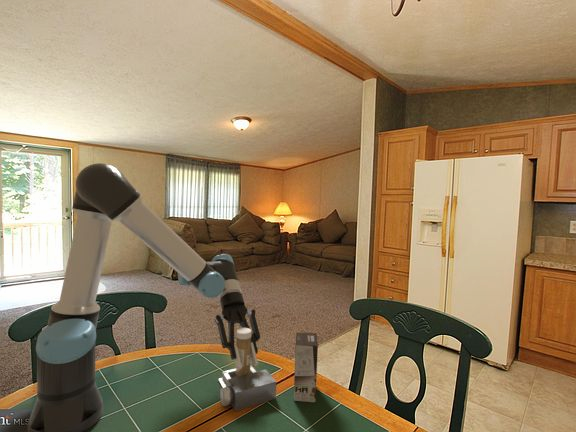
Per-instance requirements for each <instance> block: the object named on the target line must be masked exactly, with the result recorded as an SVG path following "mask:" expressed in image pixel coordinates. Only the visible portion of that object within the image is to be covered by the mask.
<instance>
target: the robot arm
mask: <svg viewBox="0 0 576 432" xmlns="http://www.w3.org/2000/svg"><path fill="white" fill-rule="evenodd" d="M75 189H76V190H75V192H74V198H73V203H72V208H71V210H72V211H73V213H74V214H75V215H76V221H75V223H74V224H75V225H74V228H73V229H74V230H73V233H72V240H71V244H70V250H69V254H68V259H67V265H66V269H65V274H64V277H63V282H62V286H61V287H62V288H61V291H60V297H59V300H58V301H57V302H56V303H54V304H53V305H52V306H51V308H50V313H49V317H48V322H47V326H46V327H44V328H43V329H42V330H41V331H40V333H39V334H38V336H37V339H36V345H35V352H36V390H37V393H36V395H37V398H36V400H35V402H34V406H33V408H32V411H31V412H30V416H29V419H28V422H27V432H86V431H87V430H89V429H90V428H92V427H93V426H94V425H95V424H97V423H98V421H100V419H101V417H102V416H103V414H104V401H103V397H102V395H101V392H100V391H99V388H98V386H97V383H96V340H97V332H96V331H97V326H98V320H99V315H100V310H101V307H100V305H99V304H98V303H97V301H96V300H97V296H98V291H99V285H100V282H101V281H100V280H101V278H102V277H101V276H102V271H103V266H104V262H105V257H106V252H107V247H108V241H109V237H110V232H111V228H112V227H111V226H112V222H113V221H114V222H115V221H116V222H120V223H121V225H123V226H124V227H125V228H127V229H128V230H129V231H130V232H131V233H132V234H134V236H135V237H137V238H138V239H139V240H140V241H141V242H142V243H143V244H145V245H146V246H147V247H148V248H149V249H150V250H152V251H153V252H154V253H155V254H156V255H157V256H158V257H160V259H161V260H163V261H164V262H165V263H166V264H168V265H169V266H170V268H172V269H173V270H174V271H176V272H177V279H178V280H177V281H178V284H179V285H180V286H187V287H189V286H192V287H194V288H195V289H196V291H198V292H199V294H201V295H202V296H203V297H206V298H209V299H213V298H217V297H219V303H220V307H221V310H222V311H221V313H220V314H216V316H215V318H214V323H215V324H216V325H217V329H218V334H219V339H220V342H221V347H222V349H227V350H228V351H229V355H230V359H231V360H232V361H233V360H234V361H235V368H237V372H238V371H240V370H241V369H242V365H241V360H240V356H239V352H238V347H237V345H235V324H239V326H240V328H249V329H251V332H252V335H251V363H252V364H251V365H252V367H253V368H254V369H255V368H256V367H258V365H259V361H258V357H257V354H258V353H259V350H258V347H257V343H258V341H259V340H260V339H261V333H260V329H259V327H258V322H257V318H256V309H255V308H254V309H251V310H250V309H248V308H247V307H246V305H245V300H244V297H243V294H242V289H241V285H240V282H239V281H240V280H239V278H238V274H237V271H236V265H235V263H234V259H233V257H232V256H231V255H230V254H227V253H221V254H218V255H217V254H216V255H215V256H214V257H213V258H212V259H211V261H206V260H205V259H203V257H201V255H199V254H198V252H196V251H195V250H194V249H193V248H192V247H191V246H190V245H189V244H188V243H187V242H186V241H184V240H183V238H182V237H181V236H179V235H178V234H177V233H176V232H175V231H174V230H173V228H171V227H170V226H169V225H168V224H167V223H165V222H164V220H162V218H160V217H159V216H158V215H157V214H156V213H155V212H154V211H153V210H152V209H151V208H150V207H149V206H148V205H146V203H145V202H143V200H142V199H143V196H142V194H141V193H140V192H138V190H137V189H136V188H135V187H134V186H133V185H132V184H131V183H130V182H129V180H128V178H126V176H125V175H124V174H123V173H122V171H120V170H119V169H118V168H116V167H115V166H113V165H111V164H107V163H98V162H97V163H93V164H90V165H88V166H85V167H83V169H82V170H80V171H79V173H78V174H77V176H76V179H75ZM246 316H247V317H248V318H249V323H250V325H249V323H248V322H247V321H248V320H247V318H246ZM224 320H225V321H226V322H227V325H228V326H227V327H228V328H227V329H228V338H227V334H226V333H227V331H226V329H225V325H224Z"/></svg>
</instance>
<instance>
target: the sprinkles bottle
mask: <svg viewBox="0 0 576 432" xmlns="http://www.w3.org/2000/svg"><path fill="white" fill-rule="evenodd" d="M251 331H252V328H250V329H249V328H242V327H240V328H237V330H236V332H235V333H236V335H235V337H236V346H237V347H238V352H239V356H240V360H241V365H242V369H241V370H240V371H238V372H237V368H236V367H235V368H236V375H237V376H242V375H246V374H250V373H251V371H250V365H251V363H252V360H251V335H252V333H253V332H251Z"/></svg>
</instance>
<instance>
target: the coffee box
mask: <svg viewBox="0 0 576 432" xmlns="http://www.w3.org/2000/svg"><path fill="white" fill-rule="evenodd" d="M294 346H295V349H294V375H293V376H294V377H293V378H294V379H293V401H295V402H307V403H315V402H316V396H317V395H316V394H317V375H318V353H319V351H318V349H319V341H318V335H317V333H316V332H298V331H297V332H296V335H295V345H294Z"/></svg>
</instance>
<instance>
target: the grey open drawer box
mask: <svg viewBox="0 0 576 432" xmlns="http://www.w3.org/2000/svg"><path fill="white" fill-rule="evenodd" d="M250 371H251V373H250V374H246V375H242V376H237V375H236V367H235V368H232V369H228V370H224V371H221V372H222V373H221V377H220V378H218V379H217V381H218V383H219V385H220V387H221V388H220V391H219V396H220V402H221V405H222V407H226V406H230V405H231V406H232V408H233V411H234V412H237V411H241V410H244V409H247V408H250V407H253V406H257V405H260V404H263V403H266V402H270V401H273V400H276V399H277V380H276V379H275V378H274V377H273V376H272V374H271V373H270V372H269V371H268V370H267V369H262V370H259V371H256V369H255V367H254V368H253V365H252V364H250Z"/></svg>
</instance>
